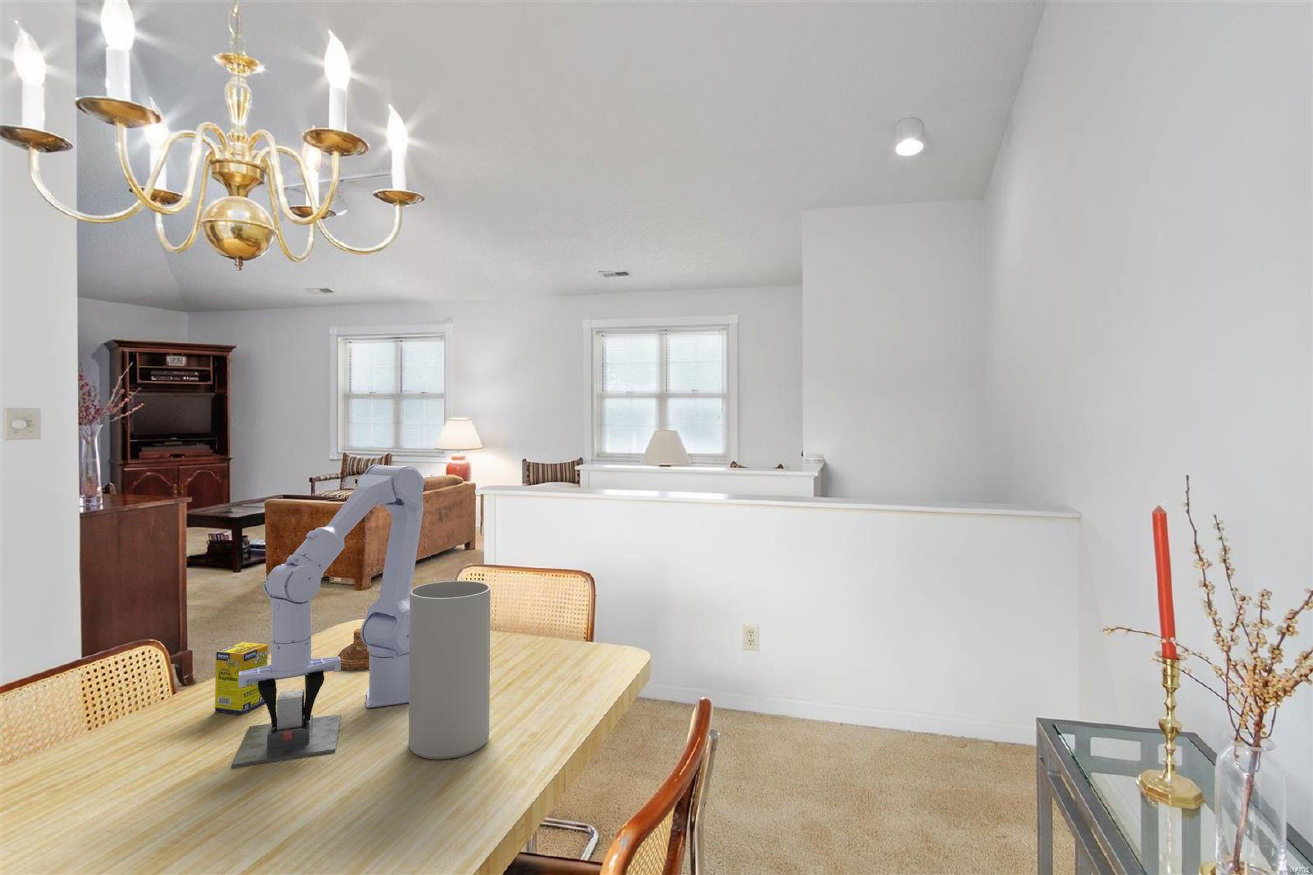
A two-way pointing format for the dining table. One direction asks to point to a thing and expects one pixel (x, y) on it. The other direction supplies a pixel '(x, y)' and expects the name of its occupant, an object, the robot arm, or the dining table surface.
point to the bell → (355, 654)
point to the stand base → (288, 741)
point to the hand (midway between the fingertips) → (290, 721)
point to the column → (290, 710)
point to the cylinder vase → (449, 668)
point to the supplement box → (227, 677)
